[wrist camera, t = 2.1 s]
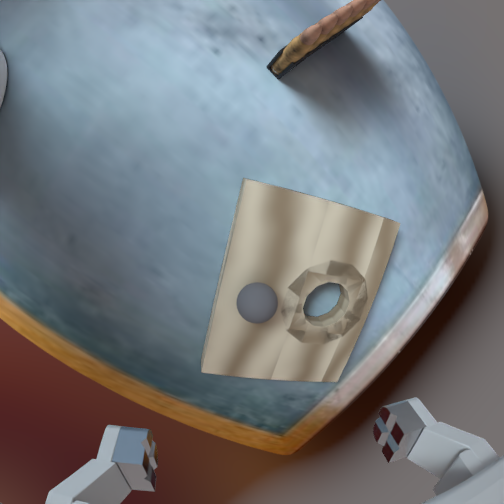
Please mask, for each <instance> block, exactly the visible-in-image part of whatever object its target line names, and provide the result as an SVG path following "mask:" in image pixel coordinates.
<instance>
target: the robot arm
mask: <svg viewBox="0 0 504 504" xmlns="http://www.w3.org/2000/svg"><path fill="white" fill-rule="evenodd" d="M6 83H7V64H6V60H5V57H4V54H3V53H2V51H1V50H0V107H1V104H2V101H3V98H4V94H5V89H6ZM378 414H379V415H380V417H379V419H377V420H376V421H375V424H374V427H373V434H374V438H375V440H376V442H377V443H378V444H380V445H382V446H383V448H382V453H383V454H384V456H385V458H386V460H387V462H388V463H391V462H394V461H397V460H400V459H403V458H406V457H407V458H408V459H409V460H410V461H412V462H414V463H415V464H417V465H418V466H420V467H422V468H423V469H425V470H426V471H428V472H430V473H431V474H433V475H435V476H436V477H438V478H440V480H439V482H438V483H437V484H436V485H435V486H434V489H433V491H434V492H435V494H436V496H435V497H433V498H431V499H429V500H427V501H425V502H423V503H421V504H504V455H503V456H502V457H501V458H500V457H499V456H498V455H497V453H495V451H494V450H493V449H492V447H491V446H490V445H489V444H488V443H487V441H486V440H485V439H483V438H480V437H478V436H475V435H473V434H470V433H467V432H465V431H462V430H460V429H457V428H455V427H452V426H450V425H447V424H445V423H443V422H437V421H436V420H435V419H434V418H433V416H432V415H431V414H430V412H429V411H428V410H427V409H426V408H425V406H424V405H423V404H422V402H421V401H420V400H419V399H418V398H416V397H415V398H411V399H408V400H405V401H401V402H397V403H394V404H390V405H387V406H383V407H382V408H381V409H380V411H379V413H378ZM152 438H153V434H152V432H151V429H141V428H132V427H123V426H114V425H108V426H107V427H106V429H105V432H104V435H103V438H102V442H101V445H100V448H99V452H98V456H97V459H92V460H91V461H89V462H88V463H87V464H85V465H84V466H83V467H81V468H80V469H79V470H78V471H76V472H75V473H74V474H72V475H71V476H70V477H68V478H67V479H66V480H64V481H63V482H62V483H60V484H59V485H58V486H56V487H55V488H54V489H52V490H51V491H49V494H48V497H47V500H46V503H45V504H120V503H121V502H122V501H123V499H124V498H125V497H126V496H127V495H128V494H129V493H130V492H131V489H133V490H144V491H155V484H156V475H155V472H154V469H155V468H156V467H157V465H158V452H157V447H156V443H155V442H153V441H152ZM0 504H1V503H0Z"/></svg>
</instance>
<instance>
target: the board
mask: <svg viewBox="0 0 504 504" xmlns="http://www.w3.org/2000/svg"><path fill="white" fill-rule="evenodd" d="M399 226H400V223H398V222H395V221H393V220H390V219H388V218H385V217H382V216H378V215H375V214H372V213H369V212H366V211H363V210H359V209H356V208H353V207H350V206H346V205H343V204H340V203H336V202H333V201H329V200H326V199H322V198H319V197H315V196H312V195H308V194H304V193H301V192H297V191H293V190H290V189H286V188H282V187H278V186H274V185H270V184H266V183H262V182H258V181H254V180H250V179H246V178H243V181H242V185H241V189H240V193H239V197H238V201H237V205H236V209H235V213H234V217H233V221H232V226H231V230H230V234H229V238H228V242H227V246H226V251H225V255H224V259H223V263H222V268H221V272H220V276H219V281H218V285H217V289H216V294H215V298H214V303H213V307H212V312H211V316H210V321H209V325H208V330H207V334H206V339H205V344H204V348H203V353H202V358H201V372H202V373H210V374H218V375H227V376H236V377H246V378H257V379H271V380H287V381H311V382H337V381H338V379H339V377H340V375H341V373H342V371H343V369H344V367H345V365H346V363H347V361H348V359H349V356H350V354H351V352H352V350H353V348H354V346H355V343H356V341H357V339H358V337H359V334H360V332H361V330H362V327H363V325H364V323H365V320H366V318H367V315H368V313H369V311H370V308H371V306H372V303H373V301H374V298H375V296H376V293H377V290H378V288H379V285H380V282H381V280H382V277H383V274H384V271H385V269H386V266H387V263H388V260H389V257H390V254H391V251H392V248H393V245H394V242H395V239H396V236H397V233H398V230H399ZM255 282H260V283H264V284H267V285H268V286H270V287H271V288H272V289H273V290H274V292H275V293H276V295H277V299H278V307H277V310H276V313H275V314H274V316H273V317H272V318H271V319H270V320H268V321H266V322H264V323H259V324H256V323H251V322H248V321H246V320H245V319H244V318H242V316H241V315H240V314H239V312H238V309H237V304H236V302H237V297H238V294H239V292H240V291H241V290H242V288H243V287H245V286H246V285H248V284H250V283H255ZM327 282H332V283H338V284H339V285H340V291H341V294H340V297H339V300H338V303H337V305H336V306H335V307H334V308H333V309H332V310H331V311H330V312H329V313H326V314H324V315H321V316H318V317H315V316H307V315H305V314H304V311H303V306H304V303H305V300H306V297H307V296H308V295H309V294H310V293H311V292H312V291H313V290H314V289H315V288H316V287H317V286H319V285H322V284H325V283H327Z"/></svg>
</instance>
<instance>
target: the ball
mask: <svg viewBox="0 0 504 504" xmlns="http://www.w3.org/2000/svg"><path fill="white" fill-rule="evenodd" d="M236 304H237V309H238V312H239V314H240V315H241V316H242V318H244V319H245V320H246V321H248V322H251V323H256V324H259V323H264V322H266V321H268V320H270V319H271V318H272V317H273V316H274V314H275V313H276V310H277V307H278V299H277V295H276V293H275V292H274V290H273V289H272V288H271V287H270V286H268V285H267V284H264V283H260V282H255V283H250V284H248V285H246V286H245V287H243V288H242V290H241V291H240V292H239V294H238V297H237V302H236Z"/></svg>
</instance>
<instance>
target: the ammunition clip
mask: <svg viewBox="0 0 504 504" xmlns="http://www.w3.org/2000/svg"><path fill="white" fill-rule="evenodd" d="M379 1H381V0H353V1H351V2H350V3H348V4H347V5H346V6H343V7H341V8H339V9H338V10H336V11H334V12H333V13H332V14H331V15H328V16H326V17H324V18H323V19H321V20H320V21H319V22H318V23H316V24H315V25H312V26H310V27H309V28H307V29H306V30H304V31H303V32H302V33H301V34H300V35H299V36H297V37H295V38H294V39H292V41H291V42H290V43H289V44H288V45H287V46H285V47H284V48H282V49H281V50H280V51H279V52H278V53H277V55H276V56H275V57H274V58H273V59H272V61H271V62H270V63H269V64H268V65H267V68H268V69H269V70H270V71H271V72H272V73H273V74H274V75H275V77H276V78H277V79H280V78H281V77H282V76H283V75H285V74H286V73H287V72H289V71H290V70H291V69H293V68H294V67H295V66H296V65H298V64H299V63H300V62H302V61H303V60H304V59H306V58H307V57H309V56H310V55H311V54H313V53H314V52H315V51H317V50H318V49H320V48H321V47H322V46H324V45H325V44H327V43H328V42H330V41H331V40H333V39H334V38H335V37H337V36H338V35H340V34H341V33H343V32H344V31H346V30H347V29H348V28H350V27H351V26H352V25H354V24H355V23H356V22H358V21H359V20H360V19H362V18H363V17H362V16H364V15H365V14H366V13H368V12H369V11H370V10H372V8H373V7H374V6H375V5H376V4H377V3H378V2H379Z"/></svg>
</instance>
